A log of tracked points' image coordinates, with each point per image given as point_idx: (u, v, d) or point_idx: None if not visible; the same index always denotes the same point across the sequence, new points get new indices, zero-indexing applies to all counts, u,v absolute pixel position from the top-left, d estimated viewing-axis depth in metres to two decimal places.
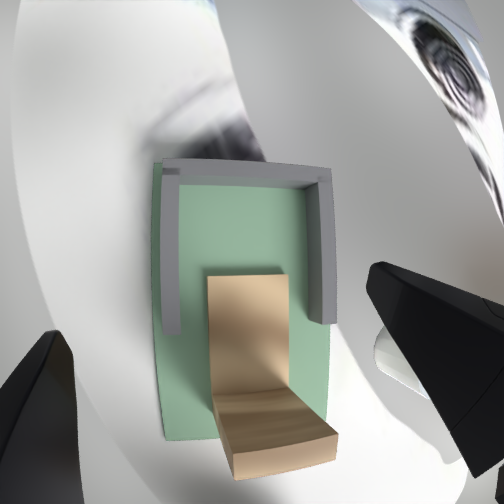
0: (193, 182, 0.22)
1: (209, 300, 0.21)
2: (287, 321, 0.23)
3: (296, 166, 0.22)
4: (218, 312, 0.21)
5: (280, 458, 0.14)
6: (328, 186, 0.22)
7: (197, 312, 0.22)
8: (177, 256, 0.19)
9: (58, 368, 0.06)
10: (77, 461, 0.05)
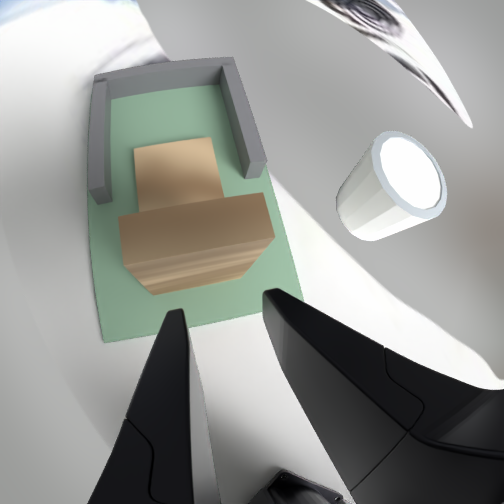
0: (121, 93, 0.22)
1: (136, 167, 0.21)
2: (217, 175, 0.22)
3: (201, 59, 0.22)
4: (145, 175, 0.20)
5: (183, 224, 0.12)
6: (232, 66, 0.23)
7: (128, 185, 0.21)
8: (103, 127, 0.19)
9: (192, 347, 0.07)
10: (210, 447, 0.06)
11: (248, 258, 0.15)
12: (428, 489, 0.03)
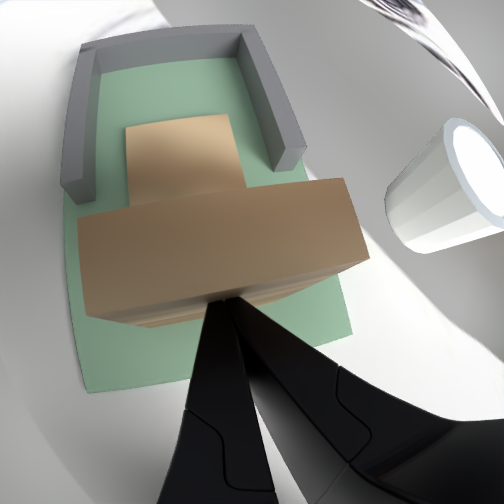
0: (113, 65, 0.17)
1: (128, 151, 0.15)
2: (238, 163, 0.16)
3: (215, 25, 0.17)
4: (140, 161, 0.15)
5: (203, 234, 0.06)
6: (253, 34, 0.17)
7: (117, 178, 0.15)
8: (86, 102, 0.13)
9: None
10: None
11: (302, 286, 0.09)
12: None
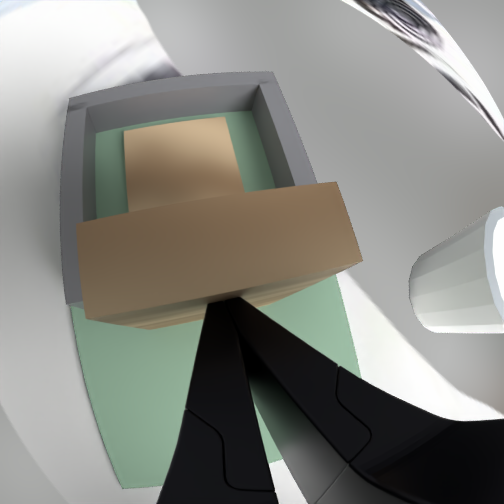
0: (109, 123, 0.16)
1: (126, 154, 0.15)
2: (235, 165, 0.16)
3: (227, 73, 0.16)
4: (138, 165, 0.15)
5: (199, 239, 0.06)
6: (273, 87, 0.16)
7: None
8: (81, 191, 0.12)
9: None
10: None
11: (297, 288, 0.09)
12: None
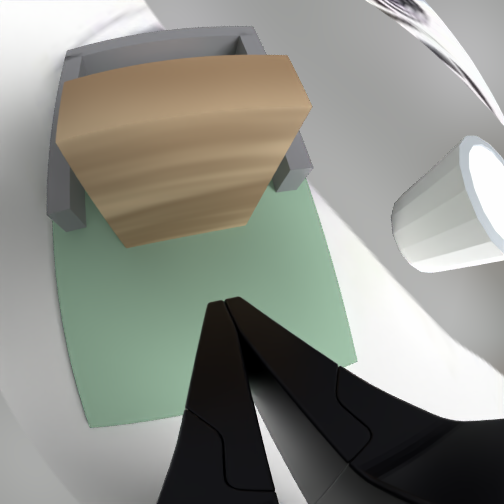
0: None
1: None
2: None
3: (211, 27, 0.15)
4: None
5: (162, 82, 0.06)
6: (253, 37, 0.16)
7: None
8: None
9: None
10: None
11: (262, 167, 0.09)
12: None
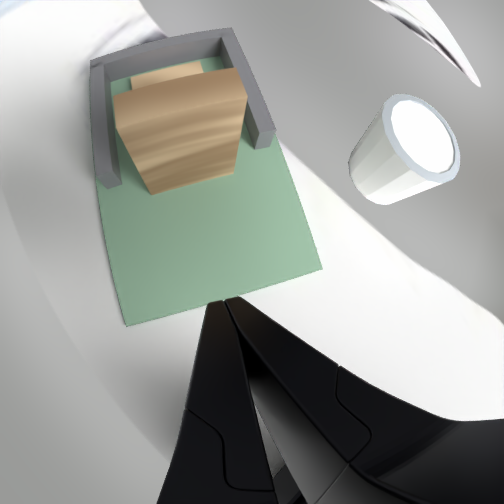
0: (120, 74, 0.21)
1: None
2: None
3: (199, 32, 0.20)
4: None
5: (168, 93, 0.12)
6: (231, 37, 0.21)
7: None
8: (105, 111, 0.18)
9: None
10: None
11: (231, 132, 0.15)
12: None
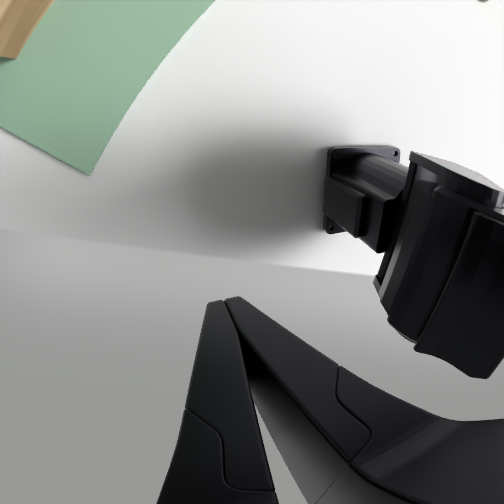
0: None
1: None
2: None
3: None
4: None
5: None
6: None
7: None
8: None
9: None
10: None
11: None
12: None
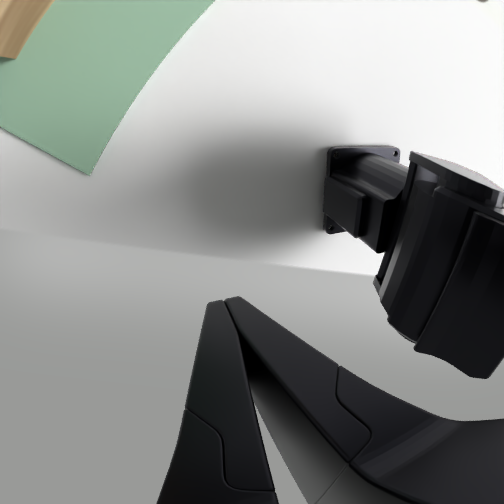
0: None
1: None
2: None
3: None
4: None
5: None
6: None
7: None
8: None
9: None
10: None
11: None
12: None
